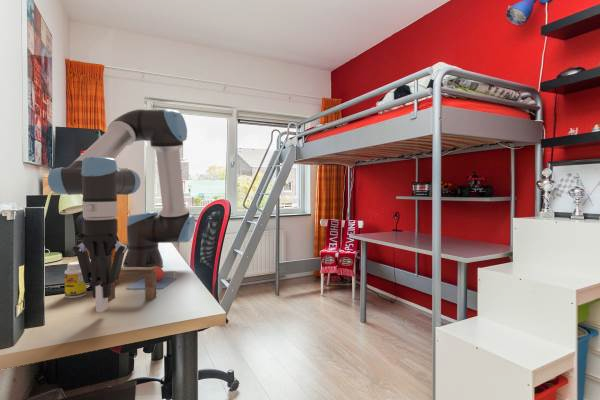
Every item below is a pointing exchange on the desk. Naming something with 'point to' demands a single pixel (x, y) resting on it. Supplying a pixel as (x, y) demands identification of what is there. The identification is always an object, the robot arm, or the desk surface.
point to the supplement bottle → (74, 281)
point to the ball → (158, 273)
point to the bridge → (149, 280)
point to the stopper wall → (168, 274)
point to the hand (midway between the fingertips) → (102, 309)
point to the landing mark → (159, 284)
